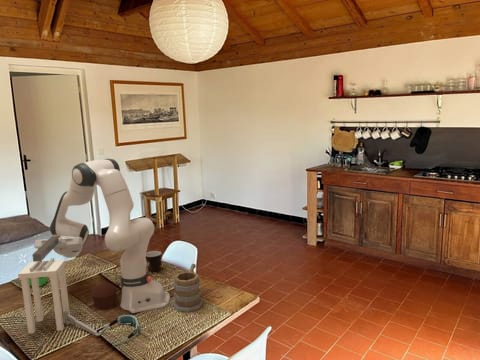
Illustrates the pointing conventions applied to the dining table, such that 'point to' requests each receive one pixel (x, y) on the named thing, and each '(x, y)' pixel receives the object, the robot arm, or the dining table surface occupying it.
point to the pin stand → (34, 272)
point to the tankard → (187, 291)
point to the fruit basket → (41, 281)
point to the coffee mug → (153, 261)
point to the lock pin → (45, 248)
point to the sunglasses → (125, 319)
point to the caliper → (77, 323)
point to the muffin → (104, 295)
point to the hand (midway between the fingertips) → (53, 240)
